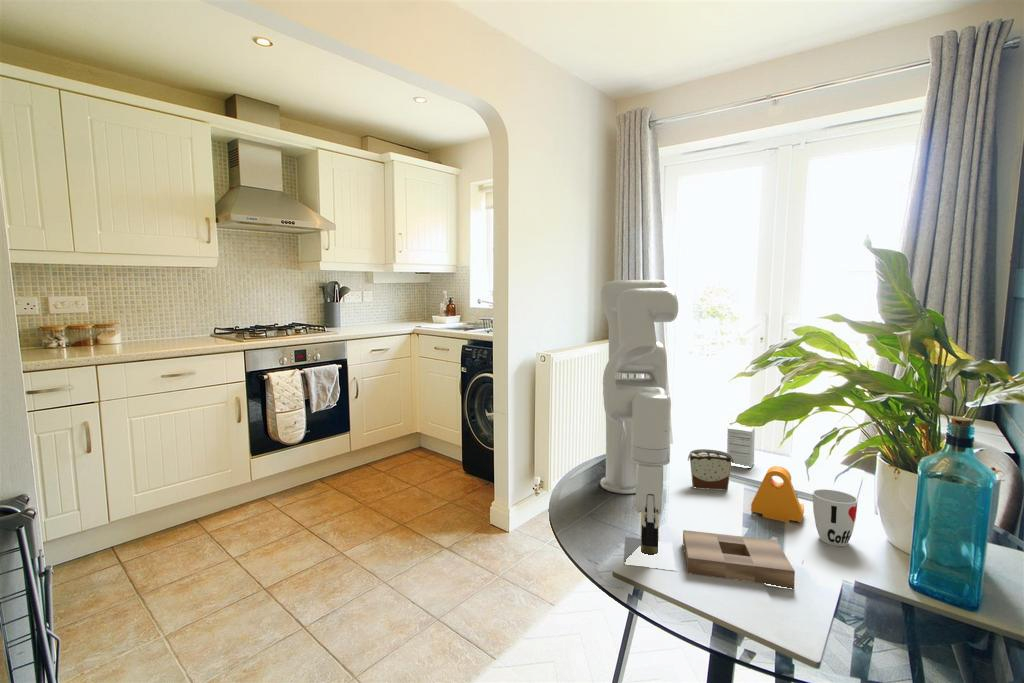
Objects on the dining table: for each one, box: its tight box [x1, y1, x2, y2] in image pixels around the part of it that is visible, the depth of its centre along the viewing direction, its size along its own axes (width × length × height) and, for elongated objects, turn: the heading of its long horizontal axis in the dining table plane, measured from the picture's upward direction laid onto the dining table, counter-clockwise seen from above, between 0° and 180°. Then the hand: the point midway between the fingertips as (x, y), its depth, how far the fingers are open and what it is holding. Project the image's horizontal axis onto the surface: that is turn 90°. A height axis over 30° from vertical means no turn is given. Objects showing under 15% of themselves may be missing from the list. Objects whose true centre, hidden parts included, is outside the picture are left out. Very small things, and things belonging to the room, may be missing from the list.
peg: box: [640, 509, 660, 555], centre depth 97 cm, size 4×4×11 cm
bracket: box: [750, 465, 805, 523], centre depth 116 cm, size 11×7×12 cm, turn 54°
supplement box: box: [726, 424, 756, 468], centre depth 155 cm, size 7×7×13 cm
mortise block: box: [682, 529, 796, 590], centre depth 93 cm, size 12×18×4 cm, turn 74°
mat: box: [623, 536, 641, 563], centre depth 97 cm, size 12×10×1 cm
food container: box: [687, 448, 734, 491], centre depth 136 cm, size 12×6×10 cm, turn 80°
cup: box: [812, 488, 858, 547], centre depth 103 cm, size 8×8×10 cm
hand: (649, 540), depth 97 cm, fingers closed on peg, 3 cm apart
